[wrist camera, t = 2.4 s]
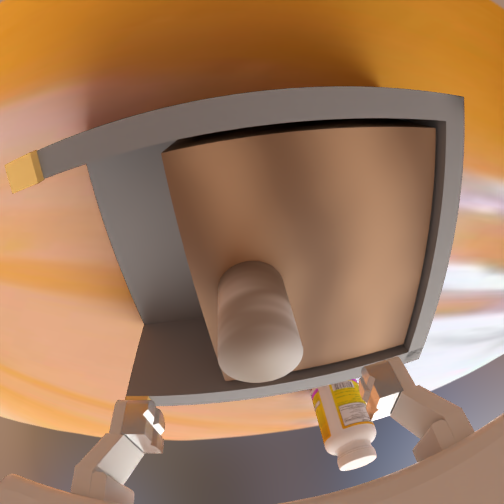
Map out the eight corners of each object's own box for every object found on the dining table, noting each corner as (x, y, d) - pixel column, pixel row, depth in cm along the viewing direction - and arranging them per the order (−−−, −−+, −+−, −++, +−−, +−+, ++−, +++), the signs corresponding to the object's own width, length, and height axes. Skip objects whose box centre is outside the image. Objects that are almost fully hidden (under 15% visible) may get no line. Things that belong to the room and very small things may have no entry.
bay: (381, 89, 20) (470, 96, 10) (375, 291, 29) (421, 364, 20) (86, 133, 19) (4, 165, 10) (151, 327, 29) (132, 412, 20)
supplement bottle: (324, 402, 39) (344, 475, 28) (300, 388, 37) (320, 471, 25) (362, 381, 38) (391, 454, 27) (343, 364, 35) (373, 448, 24)
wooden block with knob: (371, 114, 19) (502, 149, 8) (367, 286, 27) (430, 391, 16) (184, 134, 19) (126, 182, 8) (223, 312, 27) (227, 440, 16)
